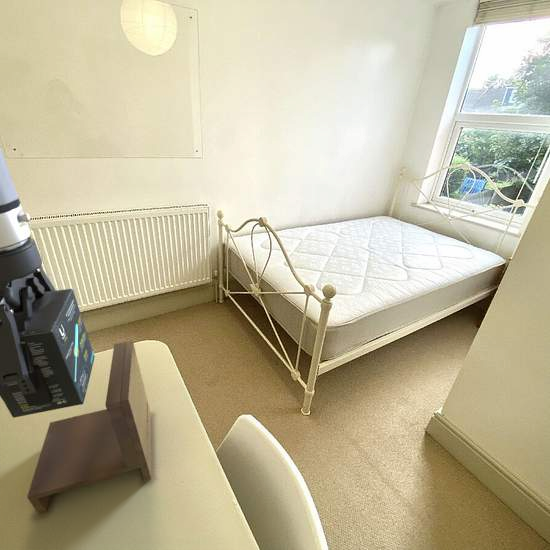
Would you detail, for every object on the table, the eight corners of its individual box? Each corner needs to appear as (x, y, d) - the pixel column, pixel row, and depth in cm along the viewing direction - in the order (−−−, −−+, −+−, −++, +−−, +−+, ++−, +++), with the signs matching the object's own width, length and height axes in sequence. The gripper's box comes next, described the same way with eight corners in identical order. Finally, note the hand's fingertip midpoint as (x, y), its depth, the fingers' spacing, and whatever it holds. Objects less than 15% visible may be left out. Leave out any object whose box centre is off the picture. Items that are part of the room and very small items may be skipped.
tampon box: (36, 365, 53) (2, 294, 46) (96, 355, 55) (73, 286, 48) (10, 421, 44) (-37, 342, 37) (83, 406, 46) (52, 330, 39)
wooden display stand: (39, 515, 52) (-18, 433, 41) (59, 440, 64) (19, 360, 53) (151, 480, 58) (128, 399, 47) (151, 417, 69) (132, 340, 58)
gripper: (-7, 287, 29) (62, 431, 40) (55, 211, 48) (91, 322, 59) (-113, 299, 27) (-9, 449, 37) (-3, 215, 46) (45, 330, 57)
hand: (52, 372), depth 48 cm, fingers closed on tampon box, 11 cm apart
